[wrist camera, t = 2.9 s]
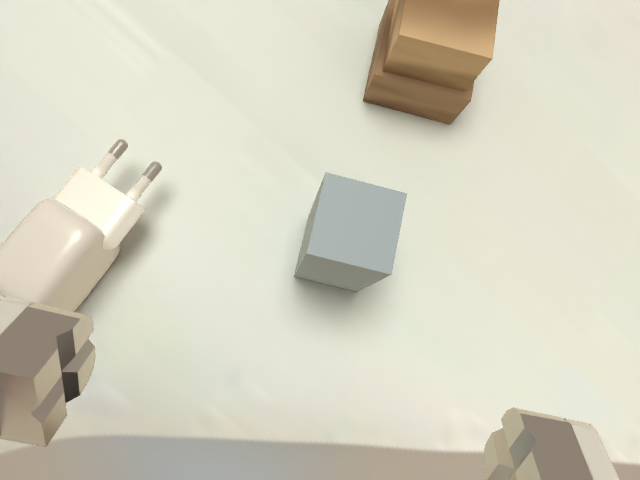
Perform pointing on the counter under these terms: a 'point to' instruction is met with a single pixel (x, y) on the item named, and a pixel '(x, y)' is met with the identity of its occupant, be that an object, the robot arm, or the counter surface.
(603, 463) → the robot arm
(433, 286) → the counter surface
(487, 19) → the tower top
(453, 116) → the tower base
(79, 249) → the power adapter
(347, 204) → the slate column
